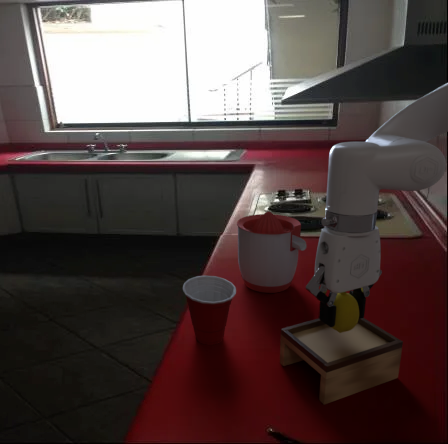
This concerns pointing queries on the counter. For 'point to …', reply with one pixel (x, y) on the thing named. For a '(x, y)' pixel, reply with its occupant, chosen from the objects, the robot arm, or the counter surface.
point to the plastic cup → (209, 306)
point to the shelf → (343, 356)
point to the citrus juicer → (268, 251)
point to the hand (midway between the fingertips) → (341, 317)
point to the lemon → (345, 312)
